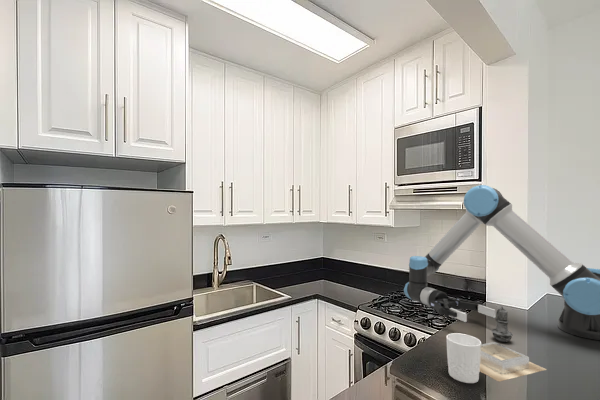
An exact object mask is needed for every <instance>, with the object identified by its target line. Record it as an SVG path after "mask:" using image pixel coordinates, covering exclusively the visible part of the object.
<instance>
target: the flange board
mask: <svg viewBox="0 0 600 400" xmlns="http://www.w3.org/2000/svg"><path fill="white" fill-rule="evenodd" d="M491 356H493V357H495V358H497V359H500V360H506V359H504V358H502V357H500V356H498V355H496V354H493V355H491ZM542 371H543V372H544V371H547V368H545V367H543V366H540V365H538V364H535V363H533V362H531V361H529V368H528V369H524V370H520V371H516V372H512V373H508V374H503V375H502V374H500V373H498V372H496V371H494V370H493V369H491V368H489V367H487V366H485V365H483V364H481V363H480V372H479V373H482V374H484V375H486V376H487V377H489V378H491V379H492V380H495V381H496V382H498V383H500V382H503V381H508V380H510V379H511V380H513V379H516V378H520V377H524V376H528V375H532V374H536V373H540V372H542Z"/></svg>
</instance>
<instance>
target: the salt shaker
mask: <svg viewBox="0 0 600 400" xmlns="http://www.w3.org/2000/svg"><path fill="white" fill-rule="evenodd" d="M495 321H496V327H495V328H492V329H491V332H492V336H493V338H495V339H496V340H497V341H498V342H500V343H507V342H510V341H511V340H512V337H513V336H514V334H513V332H511V331H510V330H509V328H508V327H509V326H508V325H509V324H508V323H509V322H510V321H509V320H508V311H507V309H505V308H504V306H500V308H498V309H497V310H496V318H495Z"/></svg>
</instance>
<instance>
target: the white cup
mask: <svg viewBox="0 0 600 400" xmlns="http://www.w3.org/2000/svg"><path fill="white" fill-rule="evenodd" d="M445 336H446V337H445V338H446V357H447V366H448V368H447V369H448V374H449V376H450V377H451V378H453V379H454V380H456V381H458V382H461V383H466V384H475V383H477V382H479V379H480V373H481V372H480V359H481V344H482V341H481V340H480V339H479V338H478V337H475V336H473V335H470V334H465V333H460V332H459V333H458V332H454V333H453V332H452V333H449V334H446V335H445Z"/></svg>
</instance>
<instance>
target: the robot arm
mask: <svg viewBox="0 0 600 400" xmlns="http://www.w3.org/2000/svg"><path fill="white" fill-rule="evenodd" d="M463 206H464V208H465V213H464V214H463V215H462V216H461V217H460V219H458V221H456V222H455V224H454V225H453V226H452V227H451V228H450V229H449V230H448V231H447V232H446V233H445V235H443V237H442V238H441V239H440V240H439V241H437V243H436V244H435V245H434V246H433V247H432V249H431V250H430V251H429V252H427V254H426V255H425V256H421V255H413V256H410V257H409V262H408V263H409V264H408V266H409V267H408V271H409V272H408V273H409V274H408V277H409V281H408V282H406V283H405V285H404V288H403V292H404V295H405V297H406V298H408V299H410V300H412V301H414V302H418V303H420V304H422V305H424V306H427V307H428V308H431V309H433V310H435V311H436V313H438V314H439V315H440V316H445V318H450V317H452V318H454V319H456V320H460V321H461V322H464V323H467V321H468V313H465V312H463V311H460V310H461V309H464V310H470V311H475V312H478V313H479V314H482V315H484V316H488V317H491V318H495V319H497V310H496V309H495V308H491V307H488V306H485V305H484V304H483V303H482V302H481V301H474V300H473V301H472V300H468V299H463V298H460V297H455V298H453V297H449V296H448V294H447V293H446V292H444V291H442V290H440V289H439V290H438V289H435V288H433V287H429V286H428V277H429V276H430V275H433V274H435V273H437V272H438V271H439V269H440V267H441V266H442V265H443V264H444V263H445V262H446V261H447V260H448V259H449V258H450V257H451V255H453V253H455V252H456V250H457V249H459V247H460V246H461V245H462V244H463V243H464V242H465V241H467V239H468V238H469V237H470V236H471V235H472V234H473V233H474V232H475V231H476V230H477V229H478V228H479V227H480V226H481V225H482V224H484V225H485V226H486V227H487V226H488V227H491V226H492V227H493V228H494V229H496V231H498V232H499V233H500V234H501V235H502V236H503V237H504V238H505V239H506V240H508V242H509V243H511V244H512V245H513V247H515V248H516V249H517V250H518V251H519V252H521V254H523V255H524V256H525V257H526V258H527V259H528V260H529V261H530V262H531V263H532V264H534V265H535V267H536V268H538V269H539V270H540V271H541V272H542V273H544V275H545V276H547V277H548V278H549V285H550V286H551V287H552V288H553V289H554V290H555V291H556V292H557V293H558V294H559V295H560V296H561V297H563V302H564V303H563V308H562V311H561V313H560V315H559V317H558V321H557V327H558V329H560V330H561V331H562V332H565V333H567V334H571V335H574V336H576V337H580V338H585V339H589V340H595V341H600V268H590V267H587V266H585V265H584V264H583V263H582V262H581V263H580V262H574V261H572V260H570V259H569V258H568V257H567V256H566V255H565V254H563V252H561V250H559V249H558V248H557V247H555V246H554V245H553V244H552V243H551V242H549V241H548V240H547V239H546V238H545V237H544V236H542V235H541V233H539V232H538V231H537V230H535V228H533V227H532V226H531V225H530V224H529V223H527V221H525V220H524V218H521V216H519V215H518V214H517V213H516V212H515V211H513V204H512V203H511V202H509V200H507V199H506V198H505V197H504V196H503V194H502V193H501V192H500V191H499V190H498V189H497V188H494V187H491V186H489V185H487V184H480V185H477V186H476V185H475V186H472V187H471V188H470V189H468V190H467V192H466V193H465V194H464V197H463Z"/></svg>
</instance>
